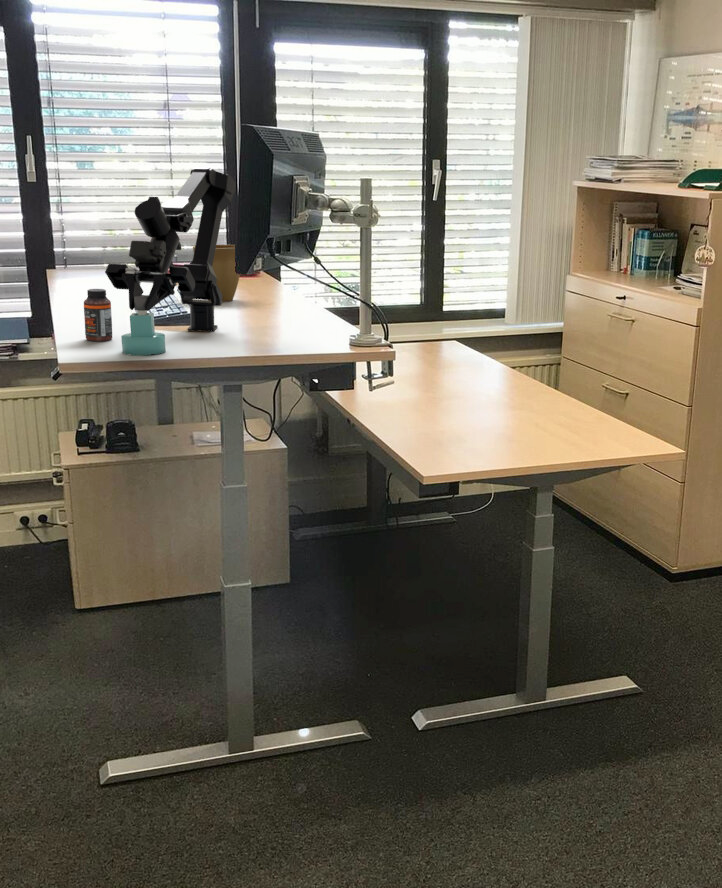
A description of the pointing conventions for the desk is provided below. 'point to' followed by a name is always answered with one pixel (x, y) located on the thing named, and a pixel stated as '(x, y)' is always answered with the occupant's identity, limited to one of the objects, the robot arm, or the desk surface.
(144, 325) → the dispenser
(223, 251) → the plant pot
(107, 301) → the supplement bottle
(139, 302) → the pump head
